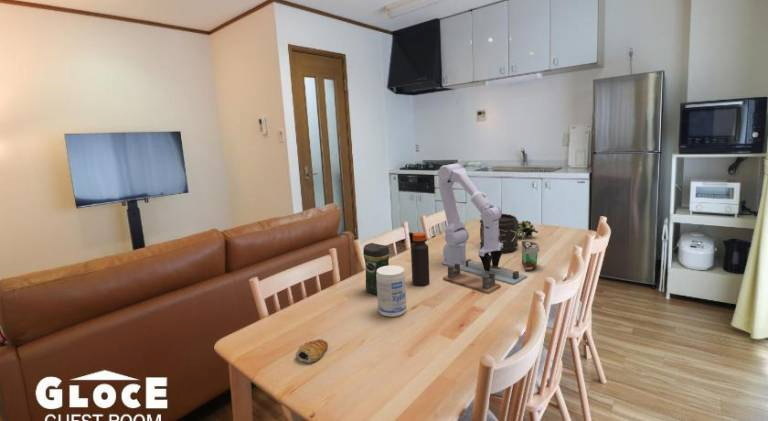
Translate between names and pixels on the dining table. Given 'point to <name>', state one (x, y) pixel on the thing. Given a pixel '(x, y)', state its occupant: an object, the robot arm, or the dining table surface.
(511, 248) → the wooden barrel
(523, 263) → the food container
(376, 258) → the coffee jar
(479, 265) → the steel rail
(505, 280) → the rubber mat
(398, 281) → the supplement tub
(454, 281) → the wooden stand
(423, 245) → the vinegar
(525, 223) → the green leafy bush
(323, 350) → the pastry
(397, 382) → the dining table surface
